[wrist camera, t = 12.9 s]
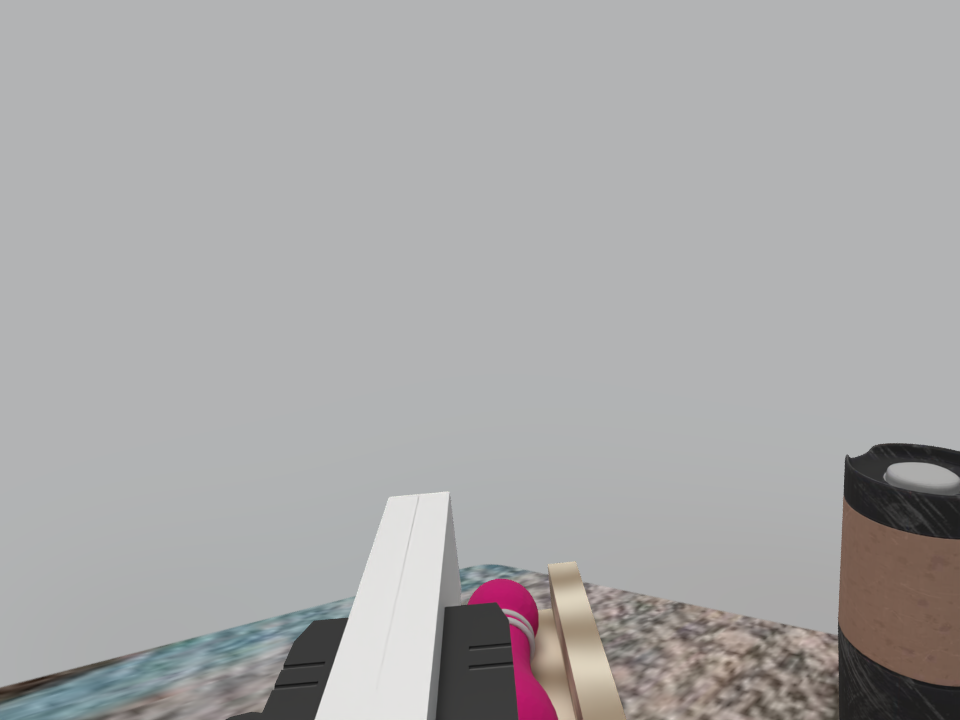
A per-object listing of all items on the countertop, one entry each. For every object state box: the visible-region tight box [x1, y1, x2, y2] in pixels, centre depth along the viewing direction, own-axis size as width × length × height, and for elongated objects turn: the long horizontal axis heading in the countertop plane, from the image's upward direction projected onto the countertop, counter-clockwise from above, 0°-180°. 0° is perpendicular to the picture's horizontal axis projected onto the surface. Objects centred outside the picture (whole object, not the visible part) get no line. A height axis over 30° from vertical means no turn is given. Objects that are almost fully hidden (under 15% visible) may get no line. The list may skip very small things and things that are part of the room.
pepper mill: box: [468, 579, 558, 720], centre depth 38 cm, size 7×7×20 cm
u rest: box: [530, 562, 626, 720], centre depth 40 cm, size 17×16×7 cm
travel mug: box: [838, 443, 960, 720], centre depth 33 cm, size 8×8×20 cm
